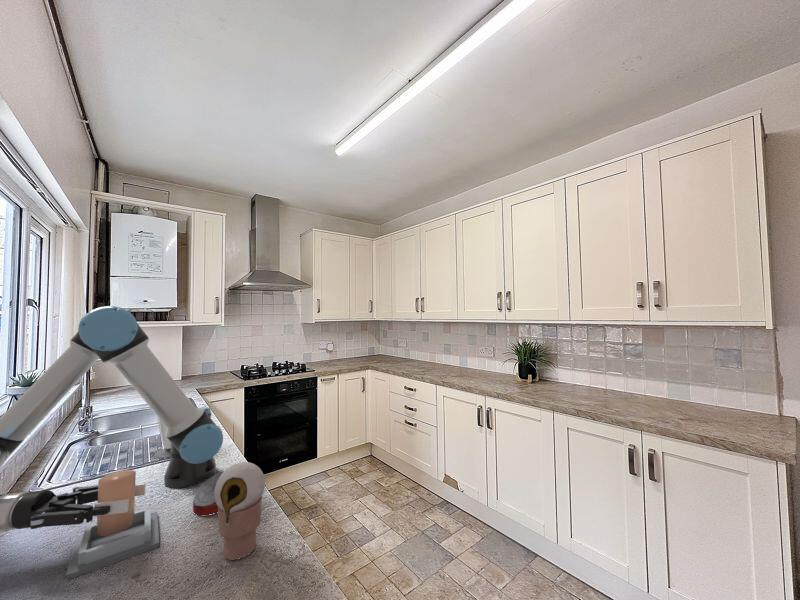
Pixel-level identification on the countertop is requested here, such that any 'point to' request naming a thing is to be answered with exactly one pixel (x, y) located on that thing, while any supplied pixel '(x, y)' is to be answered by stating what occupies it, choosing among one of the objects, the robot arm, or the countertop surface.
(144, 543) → the grey rectangular tray
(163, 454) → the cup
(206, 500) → the canned food
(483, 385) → the countertop surface
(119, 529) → the peach round cylinder
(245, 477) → the ice cream cone
